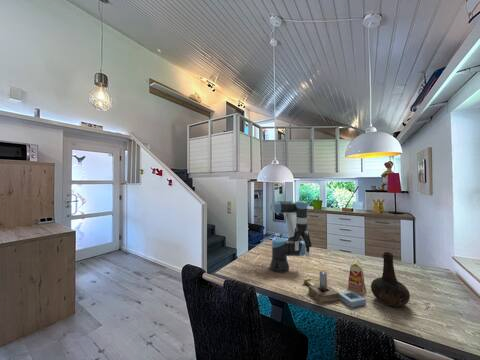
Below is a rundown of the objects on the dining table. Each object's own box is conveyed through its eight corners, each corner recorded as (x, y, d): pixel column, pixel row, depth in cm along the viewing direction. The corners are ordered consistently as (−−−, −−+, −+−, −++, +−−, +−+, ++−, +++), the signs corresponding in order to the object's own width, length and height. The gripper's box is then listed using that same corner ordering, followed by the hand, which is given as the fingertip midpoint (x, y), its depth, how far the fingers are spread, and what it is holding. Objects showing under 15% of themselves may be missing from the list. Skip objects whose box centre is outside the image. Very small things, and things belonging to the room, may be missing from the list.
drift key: (303, 282, 139) (303, 278, 139) (309, 282, 140) (309, 277, 140) (311, 289, 130) (311, 284, 131) (317, 288, 132) (317, 283, 132)
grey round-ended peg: (318, 294, 124) (318, 271, 125) (324, 293, 125) (323, 270, 126) (322, 298, 120) (322, 274, 121) (328, 297, 121) (328, 273, 122)
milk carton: (350, 285, 136) (349, 255, 137) (366, 289, 130) (365, 258, 131) (347, 290, 129) (346, 258, 130) (364, 295, 123) (363, 262, 124)
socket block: (308, 292, 127) (308, 286, 127) (325, 289, 130) (325, 283, 130) (321, 303, 115) (321, 296, 116) (339, 299, 119) (338, 292, 119)
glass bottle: (410, 301, 117) (409, 252, 118) (409, 316, 104) (408, 261, 104) (374, 290, 129) (373, 246, 129) (368, 303, 115) (367, 253, 116)
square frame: (337, 297, 121) (337, 292, 121) (351, 295, 124) (351, 290, 124) (351, 307, 111) (351, 302, 111) (365, 304, 114) (365, 299, 114)
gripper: (288, 220, 156) (288, 248, 156) (307, 226, 133) (307, 259, 133) (296, 219, 159) (297, 247, 158) (317, 226, 135) (317, 258, 135)
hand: (301, 253), depth 145 cm, fingers open, 12 cm apart
